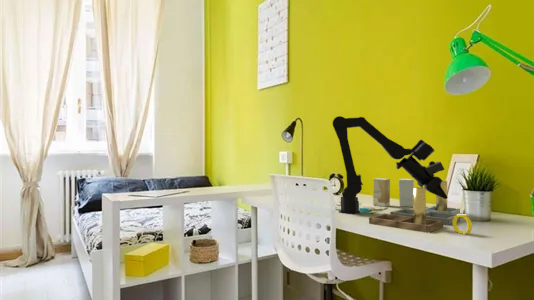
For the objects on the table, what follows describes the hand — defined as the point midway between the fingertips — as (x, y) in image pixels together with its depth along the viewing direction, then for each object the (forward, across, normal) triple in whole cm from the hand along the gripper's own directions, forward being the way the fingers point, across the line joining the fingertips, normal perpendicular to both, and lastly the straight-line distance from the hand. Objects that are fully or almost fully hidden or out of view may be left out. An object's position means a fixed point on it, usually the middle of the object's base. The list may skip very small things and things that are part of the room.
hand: (445, 197), depth 147 cm
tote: (+4, 0, +6) cm, 7 cm away
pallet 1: (-8, -23, +18) cm, 30 cm away
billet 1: (-5, -26, +15) cm, 30 cm away
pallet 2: (-2, -10, +12) cm, 16 cm away
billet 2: (+4, 0, +6) cm, 7 cm away
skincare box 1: (-11, +19, +20) cm, 30 cm away
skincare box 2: (-3, +19, +13) cm, 23 cm away
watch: (+2, -33, +7) cm, 34 cm away
